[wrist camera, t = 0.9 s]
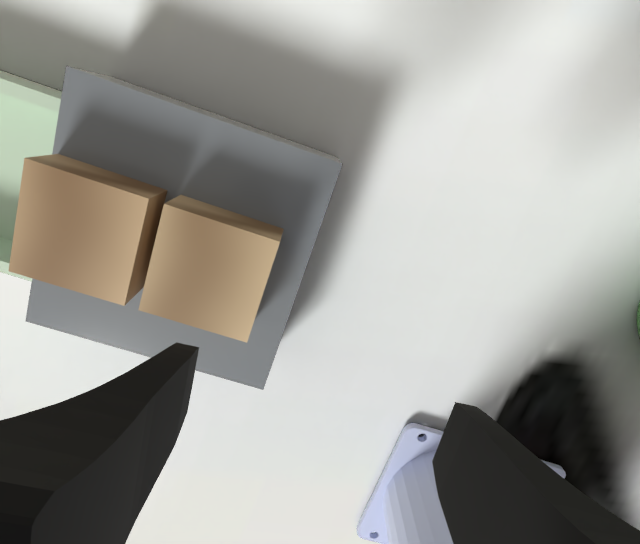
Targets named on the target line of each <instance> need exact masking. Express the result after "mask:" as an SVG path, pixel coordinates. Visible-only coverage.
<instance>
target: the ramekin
mask: <svg viewBox="0 0 640 544" xmlns="http://www.w3.org/2000/svg"><path fill="white" fill-rule="evenodd" d="M637 328H638V334H639V337H640V302H639V306H638V312H637Z"/></svg>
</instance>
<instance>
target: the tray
mask: <svg viewBox="0 0 640 544" xmlns="http://www.w3.org/2000/svg"><path fill="white" fill-rule="evenodd" d="M61 96H62V91H59V90H56V89H53V88H50V87H47V86H44V85H42V84H39V83H36V82H33V81H30V80H27V79H24V78H21V77H19V76H16V75H13V74H10V73H7V72H4V71H1V70H0V272H2V273H5V274H8V275H12V276H15V277H18V278H22V279H25V280H28V281H32V278H29V277H26V276H23V275H19V274H16V273H13V272H9V264H10V257H11V249H12V242H13V235H14V228H15V221H16V214H17V207H18V200H19V193H20V186H21V179H22V172H23V165H24V158H27V157H36V156H44V155H52V152H53V146H54V140H55V133H56V127H57V121H58V115H59V108H60V102H61Z"/></svg>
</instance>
